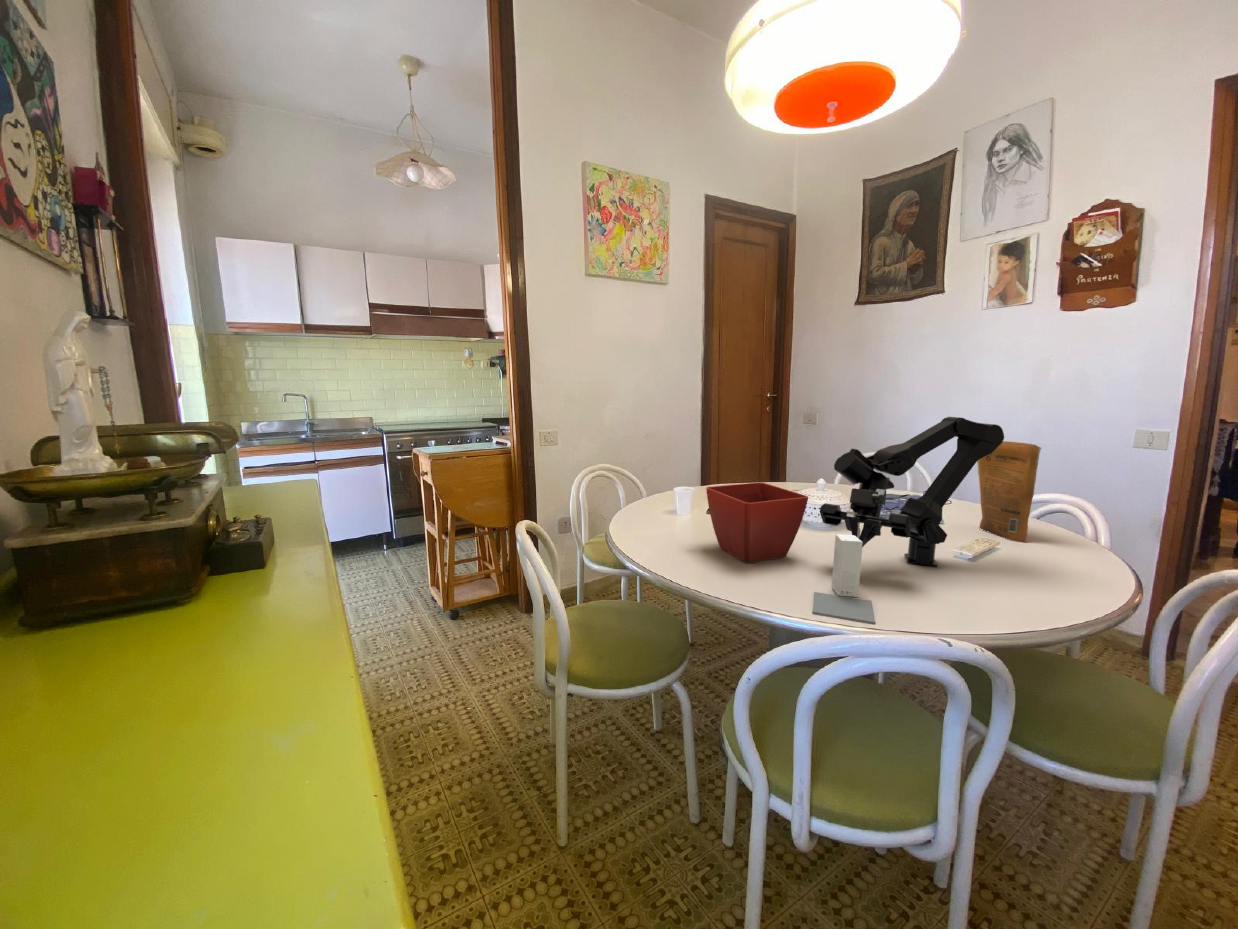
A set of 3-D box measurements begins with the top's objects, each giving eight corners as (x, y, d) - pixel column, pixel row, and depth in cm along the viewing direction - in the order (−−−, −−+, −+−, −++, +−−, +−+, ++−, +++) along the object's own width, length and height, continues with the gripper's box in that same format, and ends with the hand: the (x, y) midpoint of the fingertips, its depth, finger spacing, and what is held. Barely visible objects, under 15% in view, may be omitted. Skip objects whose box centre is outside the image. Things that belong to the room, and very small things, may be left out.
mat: (814, 593, 105) (814, 591, 105) (871, 602, 101) (871, 600, 101) (812, 613, 96) (812, 611, 96) (875, 624, 92) (875, 622, 92)
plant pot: (806, 560, 125) (810, 495, 122) (744, 570, 118) (747, 502, 115) (759, 538, 143) (762, 481, 140) (702, 546, 136) (704, 487, 133)
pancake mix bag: (1016, 545, 136) (1030, 445, 131) (963, 525, 155) (973, 437, 150) (1039, 544, 136) (1053, 444, 132) (983, 524, 155) (994, 437, 150)
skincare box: (859, 598, 102) (863, 542, 101) (837, 596, 103) (841, 540, 102) (851, 588, 108) (855, 534, 107) (830, 586, 109) (834, 533, 107)
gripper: (824, 470, 117) (806, 525, 111) (914, 479, 106) (900, 541, 99) (831, 496, 125) (815, 549, 118) (916, 507, 113) (903, 567, 106)
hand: (855, 551), depth 110 cm, fingers closed
